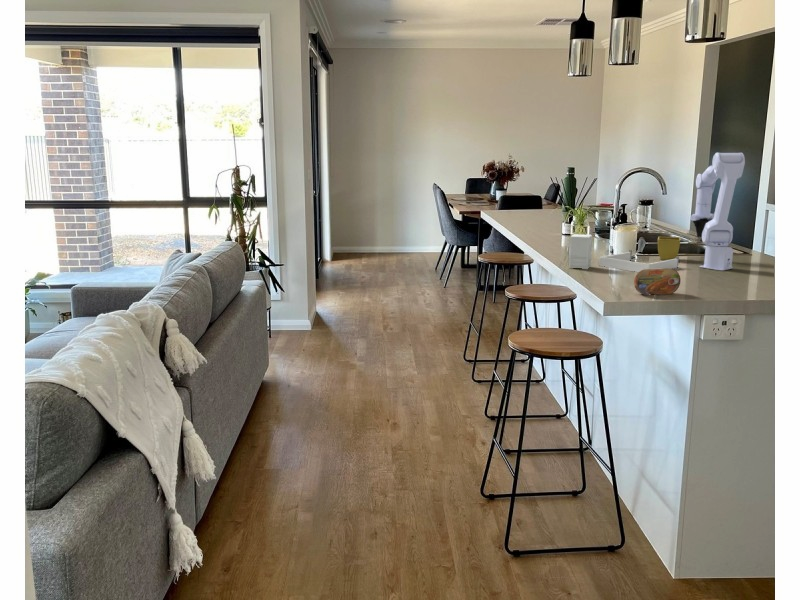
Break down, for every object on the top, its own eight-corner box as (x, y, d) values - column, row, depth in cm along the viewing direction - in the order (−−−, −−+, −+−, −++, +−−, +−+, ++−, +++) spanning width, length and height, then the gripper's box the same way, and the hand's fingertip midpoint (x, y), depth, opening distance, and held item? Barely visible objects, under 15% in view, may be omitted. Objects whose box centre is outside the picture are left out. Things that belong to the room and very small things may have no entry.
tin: (636, 295, 221) (638, 269, 219) (631, 293, 224) (633, 268, 222) (680, 294, 223) (682, 268, 222) (674, 292, 226) (676, 266, 225)
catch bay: (677, 267, 270) (678, 256, 269) (647, 273, 258) (648, 262, 257) (629, 260, 287) (630, 249, 286) (598, 265, 274) (599, 254, 273)
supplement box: (591, 266, 272) (593, 234, 269) (587, 269, 265) (589, 237, 262) (572, 265, 275) (573, 233, 272) (568, 268, 268) (570, 235, 266)
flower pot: (655, 260, 286) (657, 238, 284) (656, 257, 294) (658, 236, 292) (678, 261, 283) (680, 240, 281) (678, 258, 291) (680, 237, 289)
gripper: (703, 202, 291) (700, 234, 294) (685, 204, 282) (681, 237, 285) (719, 203, 285) (716, 236, 288) (701, 205, 277) (698, 239, 280)
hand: (700, 237), depth 286 cm, fingers closed
